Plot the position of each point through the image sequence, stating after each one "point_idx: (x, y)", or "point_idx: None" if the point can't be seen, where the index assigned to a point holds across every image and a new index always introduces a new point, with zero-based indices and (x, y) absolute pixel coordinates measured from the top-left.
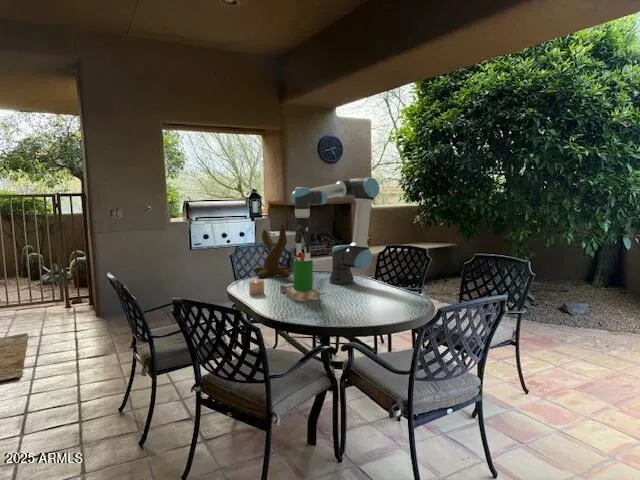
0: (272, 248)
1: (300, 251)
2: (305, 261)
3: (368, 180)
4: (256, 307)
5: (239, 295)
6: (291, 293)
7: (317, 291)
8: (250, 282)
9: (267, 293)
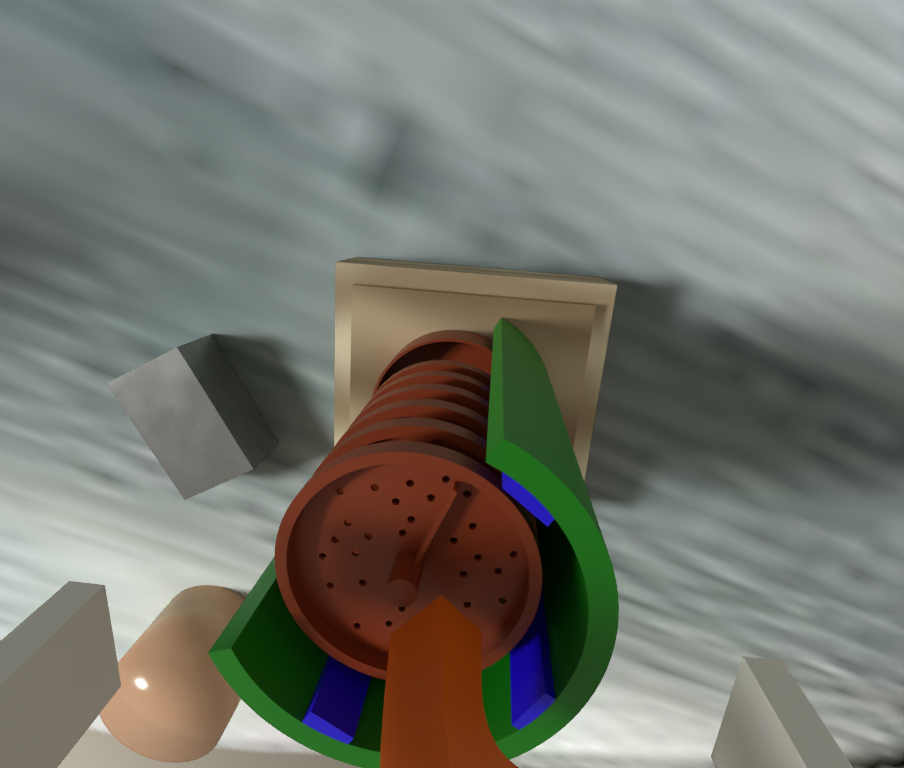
0: None
1: (25, 696)
2: (610, 646)
3: None
4: (576, 742)
5: (228, 728)
6: None
7: (592, 300)
8: (187, 761)
9: (231, 568)
